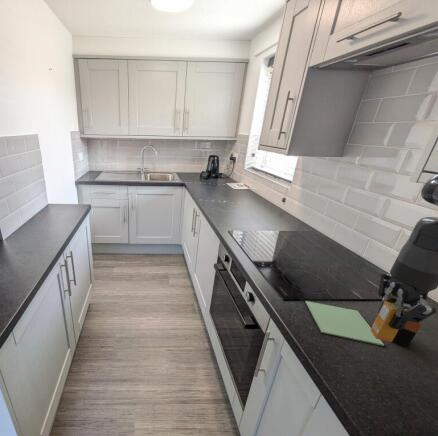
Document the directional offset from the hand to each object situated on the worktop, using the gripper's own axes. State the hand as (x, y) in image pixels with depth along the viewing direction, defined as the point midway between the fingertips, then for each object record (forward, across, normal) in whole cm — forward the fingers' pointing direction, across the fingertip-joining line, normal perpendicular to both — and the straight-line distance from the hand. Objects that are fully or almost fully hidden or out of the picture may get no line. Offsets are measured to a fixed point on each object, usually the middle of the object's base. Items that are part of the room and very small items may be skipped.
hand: (388, 321), depth 58 cm
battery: (+14, +11, -13) cm, 22 cm away
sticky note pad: (+13, +13, +1) cm, 19 cm away
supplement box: (+5, 0, 0) cm, 5 cm away
